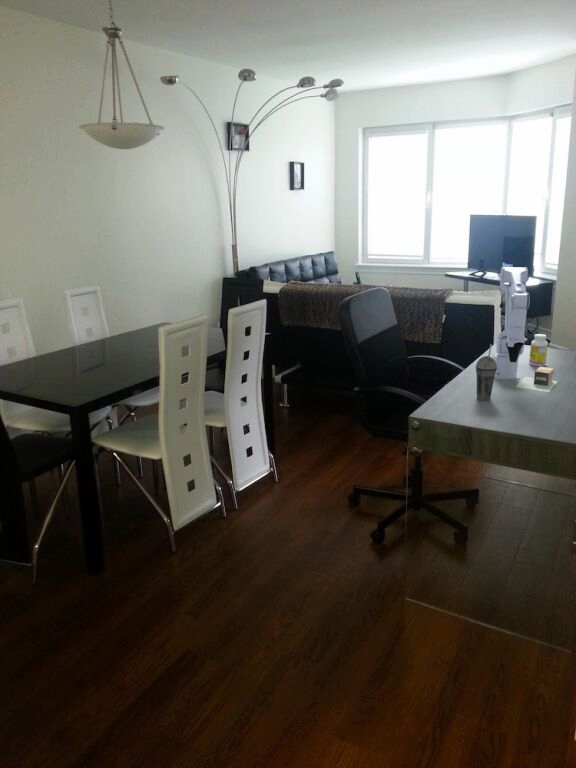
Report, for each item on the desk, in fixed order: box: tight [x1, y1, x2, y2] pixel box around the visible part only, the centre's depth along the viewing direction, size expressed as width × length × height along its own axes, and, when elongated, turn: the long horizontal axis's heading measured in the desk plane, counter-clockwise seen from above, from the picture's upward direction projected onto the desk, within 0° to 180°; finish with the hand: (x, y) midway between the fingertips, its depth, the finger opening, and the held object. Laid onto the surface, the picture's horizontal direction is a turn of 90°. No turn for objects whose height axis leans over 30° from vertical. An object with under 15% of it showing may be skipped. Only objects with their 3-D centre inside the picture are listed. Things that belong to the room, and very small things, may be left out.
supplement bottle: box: [528, 333, 549, 367], centre depth 260 cm, size 7×7×13 cm
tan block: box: [533, 366, 554, 386], centre depth 235 cm, size 5×5×8 cm
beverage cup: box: [475, 343, 497, 402], centre depth 216 cm, size 7×7×20 cm
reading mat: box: [515, 376, 558, 393], centre depth 234 cm, size 16×12×1 cm
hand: (513, 361), depth 229 cm, fingers closed
